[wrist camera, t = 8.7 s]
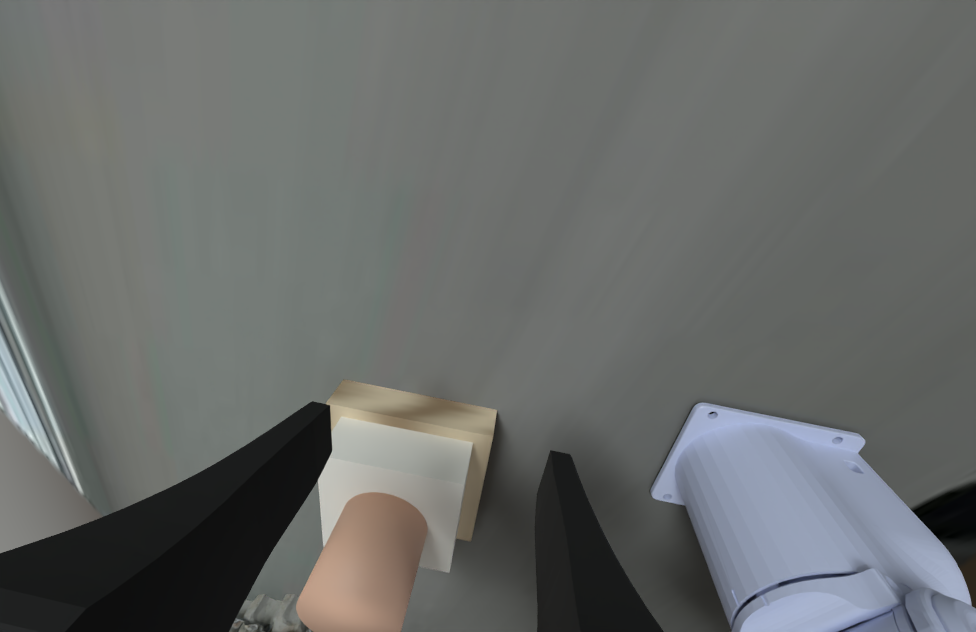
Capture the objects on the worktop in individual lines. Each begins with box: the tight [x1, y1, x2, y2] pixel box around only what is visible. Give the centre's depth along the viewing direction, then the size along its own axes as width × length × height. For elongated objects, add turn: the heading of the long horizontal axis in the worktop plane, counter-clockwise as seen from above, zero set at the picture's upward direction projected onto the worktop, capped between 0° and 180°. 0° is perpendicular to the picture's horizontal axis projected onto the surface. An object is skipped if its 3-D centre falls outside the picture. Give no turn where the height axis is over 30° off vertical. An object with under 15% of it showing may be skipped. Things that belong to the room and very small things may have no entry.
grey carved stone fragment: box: [229, 594, 313, 632], centre depth 39 cm, size 11×8×4 cm
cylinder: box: [296, 492, 428, 632], centre depth 21 cm, size 5×5×5 cm
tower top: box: [318, 417, 473, 573], centre depth 24 cm, size 8×8×3 cm
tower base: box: [326, 380, 497, 541], centre depth 27 cm, size 10×10×3 cm
